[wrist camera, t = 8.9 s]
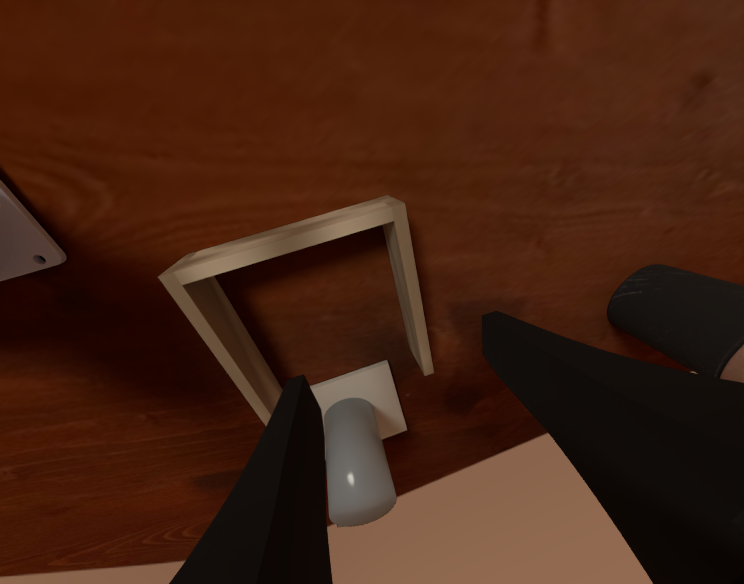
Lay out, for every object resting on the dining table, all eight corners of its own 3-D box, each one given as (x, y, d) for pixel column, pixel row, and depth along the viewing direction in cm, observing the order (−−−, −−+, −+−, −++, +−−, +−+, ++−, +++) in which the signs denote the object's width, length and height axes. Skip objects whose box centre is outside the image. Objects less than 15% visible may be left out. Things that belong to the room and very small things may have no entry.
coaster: (316, 459, 27) (316, 463, 27) (277, 397, 22) (276, 401, 22) (406, 426, 28) (407, 430, 28) (386, 359, 23) (388, 362, 23)
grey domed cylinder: (330, 396, 23) (339, 489, 17) (380, 399, 25) (406, 485, 18) (313, 448, 26) (314, 546, 19) (359, 448, 27) (375, 539, 21)
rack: (274, 393, 22) (269, 430, 19) (186, 254, 16) (157, 276, 13) (417, 344, 23) (434, 372, 20) (387, 195, 17) (404, 203, 14)
